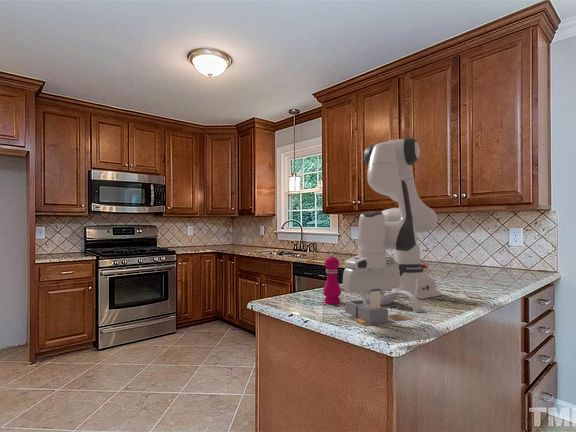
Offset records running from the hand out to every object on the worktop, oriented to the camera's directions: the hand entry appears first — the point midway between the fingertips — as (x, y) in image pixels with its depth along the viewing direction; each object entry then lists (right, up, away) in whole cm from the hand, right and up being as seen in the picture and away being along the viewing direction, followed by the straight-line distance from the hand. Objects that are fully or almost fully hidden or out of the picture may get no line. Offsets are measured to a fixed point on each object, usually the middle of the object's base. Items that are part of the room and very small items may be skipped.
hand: (372, 303), depth 114 cm
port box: (-1, -6, +4) cm, 7 cm away
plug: (0, -4, 0) cm, 4 cm away
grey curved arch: (+12, -7, +21) cm, 25 cm away
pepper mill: (-9, -7, +29) cm, 32 cm away
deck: (+9, -6, +4) cm, 12 cm away
